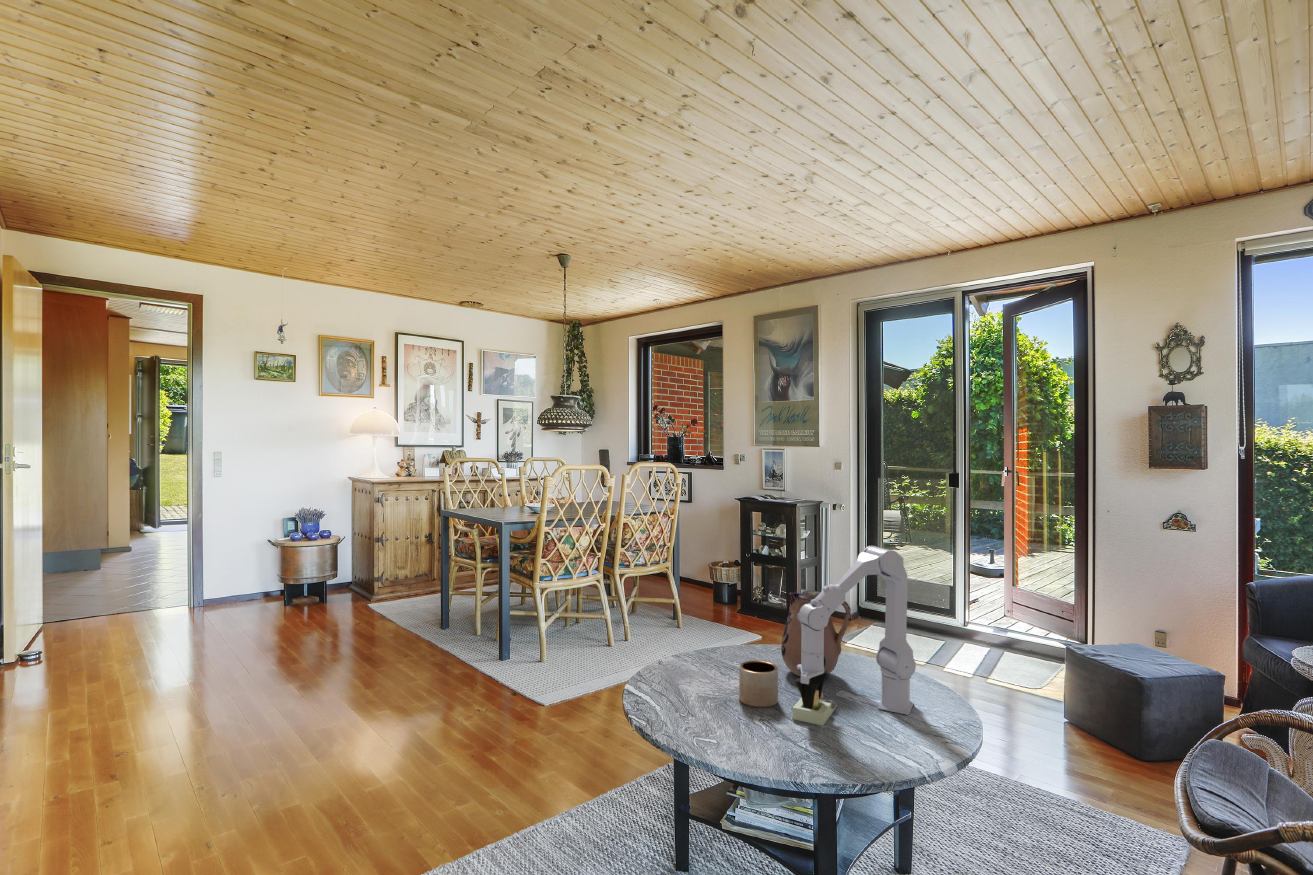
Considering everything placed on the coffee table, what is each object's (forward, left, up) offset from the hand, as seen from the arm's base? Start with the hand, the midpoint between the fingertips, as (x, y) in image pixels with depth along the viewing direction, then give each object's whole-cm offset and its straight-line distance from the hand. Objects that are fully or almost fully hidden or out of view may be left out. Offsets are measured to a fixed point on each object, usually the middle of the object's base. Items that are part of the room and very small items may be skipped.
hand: (812, 702), depth 168 cm
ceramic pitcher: (-32, -8, -4) cm, 33 cm away
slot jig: (-3, 0, -4) cm, 5 cm away
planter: (-3, -16, -4) cm, 17 cm away
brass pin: (0, 0, -4) cm, 4 cm away
